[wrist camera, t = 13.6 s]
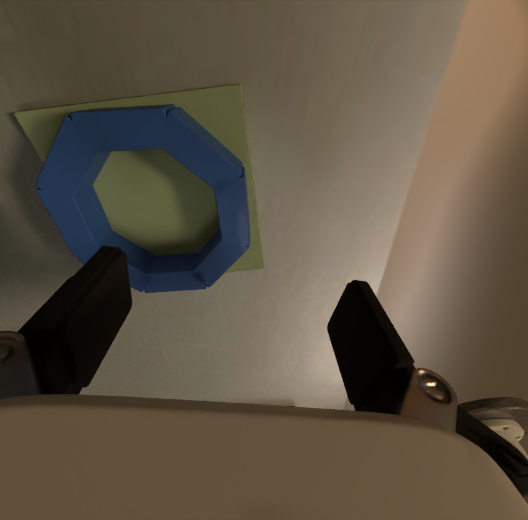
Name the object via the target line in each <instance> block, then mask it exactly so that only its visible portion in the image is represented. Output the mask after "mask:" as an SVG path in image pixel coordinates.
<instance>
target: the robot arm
mask: <svg viewBox="0 0 528 520" xmlns="http://www.w3.org/2000/svg"><path fill="white" fill-rule="evenodd" d="M131 306H132V297H131V289H130V281H129V273H128V265H127V257H126V253H125V252H122V250H121V248H119V247H112V246H102V247H101V248H100V249H99V250H98V251H97V252H96V253H95V254H94V255H93V256H92V257H91V258H90V259H89V260H88V261H87V262H86V263H85V264H84V266H83V267H82V268H81V269H80V270H79V271H78V272H77V273H76V274H75V275H74V276H72V277H70V278H69V279H68V280H67V281H66V282H65V283H64V284H63V285H62V286H61V287H60V288H59V289H58V290H57V291H56V292H55V293H54V294H53V295H52V296H51V298H50V299H49V300H48V301H47V302H46V303H45V304H44V305H43V306H42V307H41V308H40V309H39V310H38V311H37V312H36V313H35V314H34V315H33V316H32V317H31V318H30V319H29V320H28V321H27V322H26V323H25V324H24V325H23V326H22V328H21V329H20V330H19V331H18V332H14V331H0V520H528V455H527V453H526V452H525V451H524V449H523V448H522V447H521V445H520V444H519V443H518V441H519V440H520V439H521V438H522V437H523V435H524V430H523V429H522V428H521V426H520V425H519V424H518V423H517V422H516V421H513V420H510V419H487V420H480V421H479V420H478V419H476V418H475V417H473V416H472V415H471V414H469V413H468V412H466V411H465V410H463V409H462V408H461V407H459V406H458V405H457V396H456V394H455V392H454V390H453V389H452V387H451V386H450V385H449V383H447V381H445V379H444V378H442V377H441V376H440V375H438V374H437V373H435V372H433V371H431V370H428V369H425V368H417V369H416V368H415V367H414V365H413V363H414V360H413V358H412V356H411V355H410V353H409V351H408V350H407V348H406V346H405V345H404V343H403V341H402V339H401V338H400V336H399V334H398V333H397V331H396V329H395V328H394V326H393V324H392V323H391V321H390V319H389V318H388V316H387V314H386V312H385V311H384V309H383V307H382V306H381V304H380V302H379V301H378V299H377V297H376V296H375V294H374V292H373V290H372V289H371V287H370V285H369V284H368V283H367V282H365V281H358V280H353V281H352V282H351V283H348V284H347V286H346V288H345V290H344V292H343V294H342V296H341V298H340V300H339V302H338V304H337V306H336V308H335V310H334V312H333V314H332V316H331V318H330V321H329V323H328V326H327V330H328V334H329V337H330V340H331V344H332V347H333V350H334V353H335V357H336V360H337V363H338V366H339V370H340V373H341V376H342V379H343V383H344V386H345V389H346V392H347V395H348V399H349V401H350V403H351V404H353V405H354V408H355V411H350V410H336V409H321V408H306V407H291V406H276V405H260V404H244V403H227V402H211V401H194V400H177V399H159V398H141V397H123V396H98V395H79V393H80V391H81V389H82V387H87V386H88V385H89V384H90V382H91V380H92V379H93V377H94V375H95V373H96V371H97V370H98V368H99V366H100V364H101V362H102V360H103V359H104V357H105V355H106V353H107V351H108V350H109V348H110V346H111V344H112V342H113V341H114V339H115V337H116V335H117V333H118V331H119V330H120V328H121V326H122V324H123V322H124V321H125V319H126V317H127V315H128V313H129V312H130V309H131Z"/></svg>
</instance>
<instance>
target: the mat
mask: <svg viewBox="0 0 528 520" xmlns="http://www.w3.org/2000/svg"><path fill="white" fill-rule="evenodd" d="M167 104H174V105H175V107H176V108H177V107H181V108H182V109H184V110H185V111H186V112H187V113H188V114H189V115H190V116H191V117H192V118H194V119H195V120H196V121H197V122H198V123H199V124H200V125H201V126H203V127H204V128H205V129H206V130H207V131H208V132H209V133H210V134H211V135H213V136H214V137H215V138H216V139H217V140H218V141H219V142H220V143H221V144H223V145H224V146H225V147H226V148H227V149H228V150H229V151H230V152H232V153H233V154H234V155H235V156H236V157H237V158H238V159H239V160H240V161H242V167H243V166H244V167H245V174H246V185H247V197H248V209H249V221H250V245H249V249H248V250H247V251H246V252H245V253H244V254H243V255H242V256H241V257H240V258H239V259H238V260H237V261H236V262H235V263H234V264H233V265H232V266H231V267H230V268H229V269H228V270H227V271H226V272H234V271H242V270H251V269H260V268H264V262H263V254H262V246H261V238H260V230H259V222H258V214H257V206H256V199H255V191H254V183H253V175H252V167H251V159H250V151H249V143H248V136H247V128H246V120H245V112H244V104H243V96H242V88H241V84H235V85H227V86H219V87H211V88H203V89H195V90H187V91H179V92H171V93H163V94H155V95H147V96H139V97H131V98H123V99H115V100H107V101H99V102H91V103H83V104H75V105H67V106H59V107H51V108H43V109H35V110H27V111H19V112H14V115H15V116H16V118H17V120H18V121H19V123H20V125H21V127H22V128H23V130H24V132H25V133H26V135H27V137H28V139H29V140H30V142H31V144H32V145H33V147H34V149H35V150H36V152H37V154H38V156H39V157H40V159H41V161H42V162H43V164H44V163H45V161H46V159H47V156H48V154H49V152H50V149H51V147H52V145H53V142H54V140H55V138H56V135H57V133H58V131H59V128H60V126H61V124H62V121H63V119H64V117H65V116H67V115H70V113H71V112H76V111H82V110H88V109H94V108H112V107H131V106H149V105H167ZM93 187H94V189H95V192H96V194H97V196H98V198H99V201H100V203H101V205H102V208H103V210H104V212H105V214H106V217H107V219H108V221H109V223H110V226H111V228H112V230H113V231H114V232H116V233H117V234H119V235H121V236H123V237H124V238H126V239H128V240H129V241H131V242H133V243H134V244H136V245H138V246H140V247H141V248H143V249H145V250H146V251H148V252H150V253H152V254H153V255H155V256H160V255H175V254H190V253H199V252H200V251H201V249H202V248H203V247H204V246H205V245H206V244H207V243H208V242H209V241H210V239H211V238H212V237H213V236H214V235H215V234H216V233H217V232H218V231H219V229H220V224H219V218H218V212H217V205H216V199H215V193H214V189H213V188H212V187H210V186H209V185H208V184H207V183H205V182H204V181H203V180H201V179H200V178H199V177H198V176H196V175H195V174H194V173H193V172H191V171H190V170H189V169H188V168H186V167H185V166H184V165H182V164H181V163H180V162H179V161H177V160H176V159H175V158H174V157H172V156H171V155H170V154H169V153H167V152H166V151H165V150H163V149H162V148H161V149H144V150H127V151H111V153H110V155H109V157H108V158H107V160H106V162H105V164H104V166H103V168H102V169H101V171H100V173H99V175H98V177H97V178H96V180H95V182H94V184H93Z"/></svg>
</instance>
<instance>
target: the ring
mask: <svg viewBox="0 0 528 520" xmlns="http://www.w3.org/2000/svg"><path fill="white" fill-rule="evenodd" d="M161 148H162V149H163V150H165V151H166V152H167V153H169V154H170V155H171V156H172V157H174V158H175V159H176V160H177V161H179V162H180V163H181V164H182V165H184V166H185V167H186V168H188V169H189V170H190V171H191V172H193V173H194V174H195V175H196V176H198V177H199V178H200V179H201V180H203V181H204V182H205V183H207V184H208V185H209V186H210V187H212V188H213V189H214V193H215V199H216V205H217V212H218V218H219V224H220V229H219V231H218V232H217V233H216V234H215V235H214V236H213V237H212V238H211V239H210V241H209V242H208V243H207V244H206V245H205V246H204V247H203V248H202V249H201V251H200V252H199V253H190V254H175V255H160V256H155V255H153V254H152V253H150V252H148V251H146V250H145V249H143V248H141V247H140V246H138V245H136V244H134V243H133V242H131V241H129V240H128V239H126V238H124V237H123V236H121V235H119V234H117V233H116V232H114V231H113V230H112V228H111V226H110V223H109V221H108V219H107V217H106V214H105V212H104V210H103V208H102V205H101V203H100V201H99V198H98V196H97V194H96V192H95V189H94V187H93V184H94V182H95V180H96V178H97V177H98V175H99V173H100V171H101V169H102V168H103V166H104V164H105V162H106V160H107V158H108V157H109V155H110V153H111V151H127V150H144V149H161ZM35 186H37V187H38V189H36V192H37V194H38V195H39V197H40V199H41V200H42V202H43V204H44V206H45V207H46V209H47V211H48V213H49V214H50V216H51V218H52V219H53V221H54V223H55V225H56V226H57V228H58V230H59V232H60V233H61V235H62V237H63V238H64V240H65V242H66V244H67V245H68V247H69V249H70V251H71V252H72V254H73V256H74V257H79V258H78V260H79V261H80V262H82V263H84V264H85V263H86V262H87V261H88V260H89V259H90V258H91V257H92V256H93V255H94V254H95V253H96V252H97V251H98V250H99V249H100V248H101V247H102V246H112V247H119V248H121V250H122V252H125V253H126V257H127V265H128V273H129V281H130V287H132V288H134V289H136V290H138V291H140V292H142V291H143V290H144V291H145V293H153V292H167V291H182V290H197V289H206V288H207V287H210V286H211V285H213V284H214V283H215V282H216V281H217V280H218V279H219V278H220V277H221V276H222V275H223V274H224V273H225V272H226V271H227V270H228V269H229V268H230V267H231V266H232V265H233V264H234V263H235V262H236V261H237V260H238V259H239V258H240V257H241V256H242V255H243V254H244V253H245V252H246V251H247V250H248V249H249V245H250V221H249V209H248V197H247V185H246V174H245V167H244V166H243V167H242V161H240V160H239V159H238V158H237V157H236V156H235V155H234V154H233V153H232V152H230V151H229V150H228V149H227V148H226V147H225V146H224V145H223V144H221V143H220V142H219V141H218V140H217V139H216V138H215V137H214V136H213V135H211V134H210V133H209V132H208V131H207V130H206V129H205V128H204V127H203V126H201V125H200V124H199V123H198V122H197V121H196V120H195V119H194V118H192V117H191V116H190V115H189V114H188V113H187V112H186V111H185V110H184V109H182V108H181V107H177V108H176V107H175V105H174V104H167V105H149V106H131V107H112V108H94V109H88V110H82V111H76V112H71V113H70V115H67V116H65V117H64V119H63V121H62V124H61V126H60V128H59V131H58V133H57V135H56V138H55V140H54V142H53V145H52V147H51V149H50V152H49V154H48V156H47V159H46V161H45V163H44V166H43V168H42V170H41V173H40V175H39V177H38V180H37V182H36V184H35Z"/></svg>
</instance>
